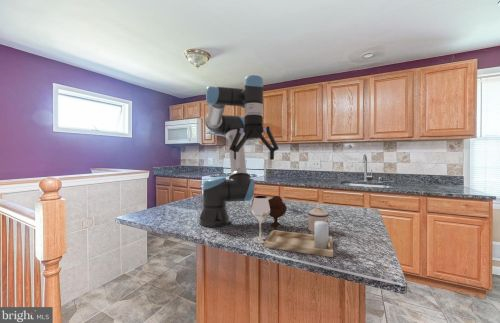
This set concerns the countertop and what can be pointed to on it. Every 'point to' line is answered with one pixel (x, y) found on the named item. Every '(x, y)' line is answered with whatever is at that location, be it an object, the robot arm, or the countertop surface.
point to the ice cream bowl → (276, 209)
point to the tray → (296, 243)
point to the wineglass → (260, 213)
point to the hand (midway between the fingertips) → (253, 167)
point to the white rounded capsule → (321, 234)
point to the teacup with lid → (316, 217)
